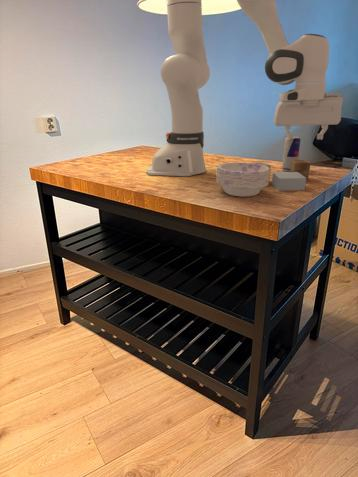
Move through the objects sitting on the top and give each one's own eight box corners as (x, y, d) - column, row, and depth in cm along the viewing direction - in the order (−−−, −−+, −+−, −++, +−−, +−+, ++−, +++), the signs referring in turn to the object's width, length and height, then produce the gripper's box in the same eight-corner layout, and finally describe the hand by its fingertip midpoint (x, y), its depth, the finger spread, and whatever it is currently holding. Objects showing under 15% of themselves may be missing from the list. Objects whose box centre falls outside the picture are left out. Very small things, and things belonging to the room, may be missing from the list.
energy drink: (297, 172, 129) (301, 138, 124) (282, 171, 130) (285, 138, 125) (296, 169, 134) (299, 136, 129) (281, 168, 135) (284, 136, 130)
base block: (278, 191, 108) (279, 178, 106) (271, 184, 115) (272, 172, 113) (304, 190, 108) (306, 178, 106) (296, 184, 115) (297, 171, 113)
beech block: (254, 184, 114) (256, 166, 112) (248, 180, 119) (249, 163, 116) (269, 183, 115) (270, 165, 113) (262, 179, 120) (264, 162, 117)
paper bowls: (266, 186, 112) (268, 161, 108) (269, 201, 98) (271, 172, 95) (217, 185, 114) (218, 160, 111) (214, 199, 100) (214, 171, 97)
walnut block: (292, 180, 118) (295, 162, 115) (289, 177, 122) (291, 159, 120) (308, 180, 118) (310, 162, 115) (304, 177, 122) (306, 159, 120)
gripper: (339, 92, 112) (333, 137, 117) (274, 94, 113) (271, 139, 118) (347, 92, 106) (341, 140, 111) (278, 95, 107) (275, 142, 112)
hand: (304, 139), depth 115 cm, fingers open, 8 cm apart
